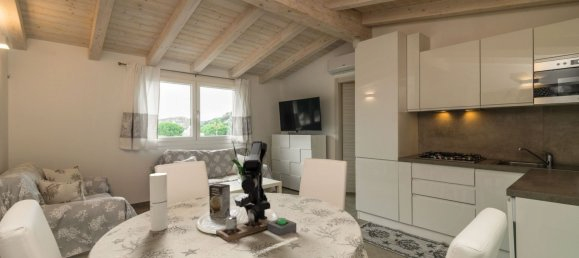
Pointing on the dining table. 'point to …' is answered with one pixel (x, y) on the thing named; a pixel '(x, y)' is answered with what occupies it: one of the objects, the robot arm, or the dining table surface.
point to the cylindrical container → (158, 201)
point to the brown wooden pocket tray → (241, 230)
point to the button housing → (281, 227)
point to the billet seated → (231, 225)
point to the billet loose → (251, 218)
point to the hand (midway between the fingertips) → (253, 221)
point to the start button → (281, 221)
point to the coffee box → (219, 200)
